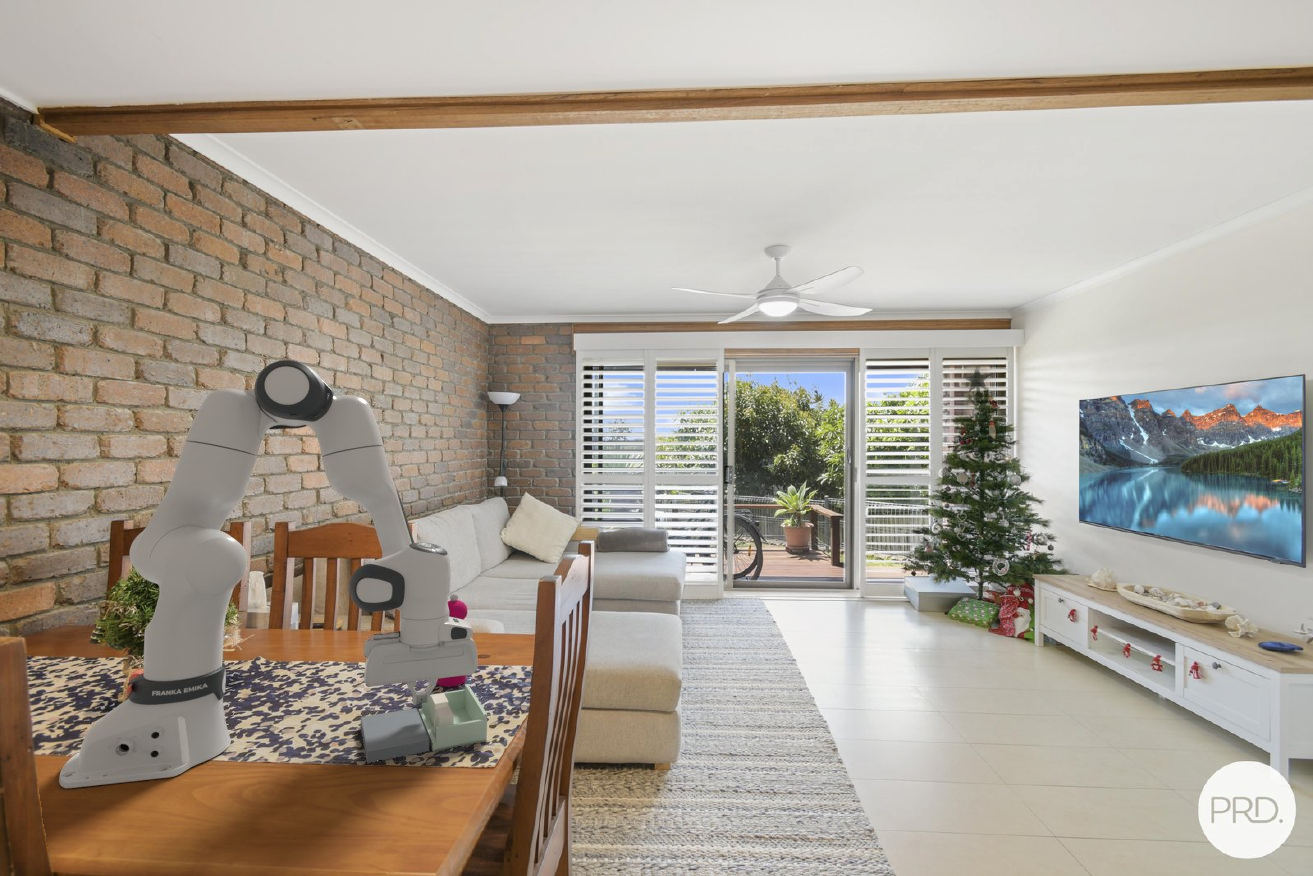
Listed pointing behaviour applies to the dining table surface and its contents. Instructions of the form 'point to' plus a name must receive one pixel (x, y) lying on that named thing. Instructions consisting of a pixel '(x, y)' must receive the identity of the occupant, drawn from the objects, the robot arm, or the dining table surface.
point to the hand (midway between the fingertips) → (420, 702)
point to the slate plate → (393, 735)
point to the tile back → (437, 705)
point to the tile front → (443, 717)
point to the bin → (457, 721)
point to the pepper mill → (458, 611)
